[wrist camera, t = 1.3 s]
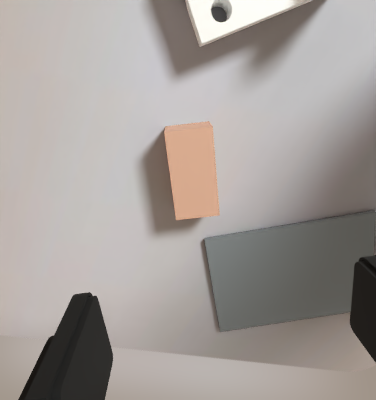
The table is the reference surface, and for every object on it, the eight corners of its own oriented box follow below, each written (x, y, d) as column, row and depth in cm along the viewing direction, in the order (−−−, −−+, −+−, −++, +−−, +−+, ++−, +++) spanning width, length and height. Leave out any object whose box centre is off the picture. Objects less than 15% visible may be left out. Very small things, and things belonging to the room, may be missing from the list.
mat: (373, 210, 36) (376, 212, 36) (368, 305, 41) (370, 309, 41) (204, 238, 37) (204, 240, 37) (219, 328, 42) (220, 331, 42)
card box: (208, 121, 32) (212, 126, 29) (215, 201, 36) (219, 215, 32) (165, 126, 32) (164, 132, 29) (176, 205, 36) (176, 220, 32)
